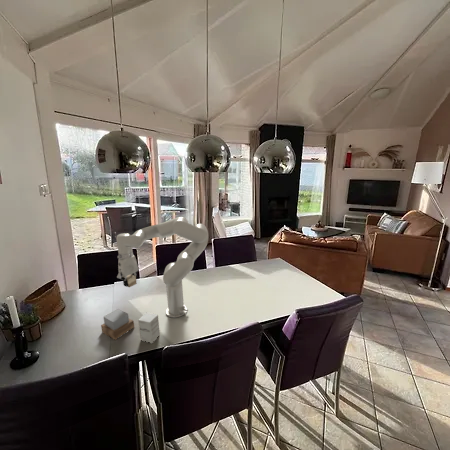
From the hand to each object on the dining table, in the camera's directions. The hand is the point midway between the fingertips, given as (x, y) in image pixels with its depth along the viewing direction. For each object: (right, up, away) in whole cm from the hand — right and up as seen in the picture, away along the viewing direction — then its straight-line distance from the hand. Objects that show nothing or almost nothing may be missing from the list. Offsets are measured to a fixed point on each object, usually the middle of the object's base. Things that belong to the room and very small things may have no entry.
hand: (130, 283), depth 151 cm
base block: (-4, -24, -8) cm, 26 cm away
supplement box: (+16, -25, -16) cm, 34 cm away
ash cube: (0, 0, 0) cm, 1 cm away
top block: (-4, -19, -10) cm, 22 cm away
